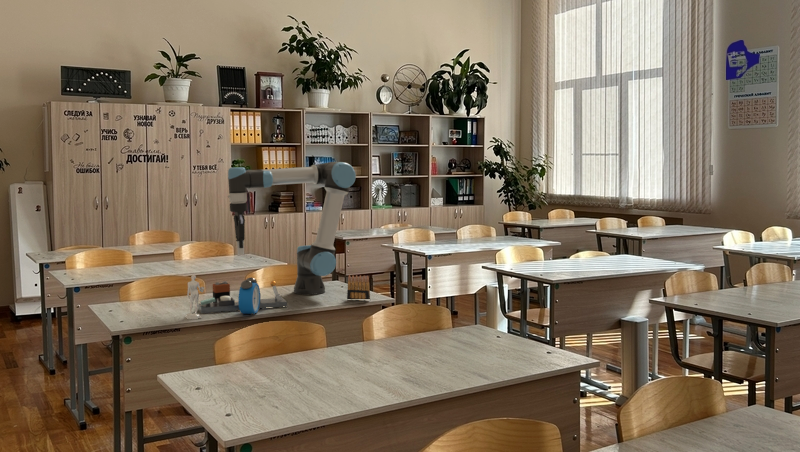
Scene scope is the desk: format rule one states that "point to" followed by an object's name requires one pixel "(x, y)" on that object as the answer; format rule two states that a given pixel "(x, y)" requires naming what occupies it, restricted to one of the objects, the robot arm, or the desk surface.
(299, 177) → the robot arm
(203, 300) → the block
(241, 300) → the alarm clock
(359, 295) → the ammunition clip
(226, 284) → the battery
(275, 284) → the lever
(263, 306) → the panel
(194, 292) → the figurine
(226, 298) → the button
